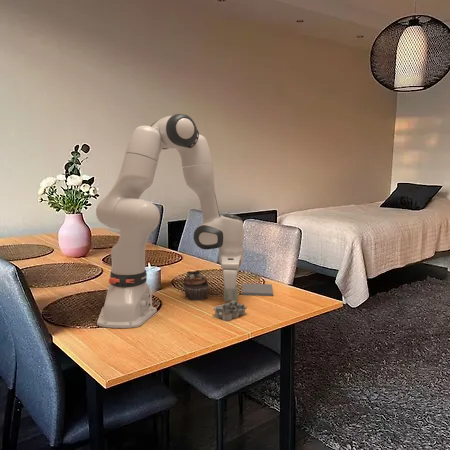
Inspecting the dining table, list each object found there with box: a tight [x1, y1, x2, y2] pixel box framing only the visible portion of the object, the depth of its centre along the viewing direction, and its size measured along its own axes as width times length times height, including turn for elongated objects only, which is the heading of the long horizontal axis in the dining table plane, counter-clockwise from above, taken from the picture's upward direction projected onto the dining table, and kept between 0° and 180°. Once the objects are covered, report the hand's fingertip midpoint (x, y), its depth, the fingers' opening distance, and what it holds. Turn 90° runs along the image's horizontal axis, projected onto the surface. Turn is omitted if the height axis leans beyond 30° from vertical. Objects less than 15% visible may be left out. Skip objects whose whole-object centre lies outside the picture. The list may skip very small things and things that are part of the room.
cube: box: [223, 284, 239, 302], centre depth 170 cm, size 5×5×5 cm
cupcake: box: [182, 269, 210, 302], centre depth 172 cm, size 10×10×10 cm
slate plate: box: [241, 283, 274, 297], centre depth 181 cm, size 12×12×1 cm
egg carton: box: [212, 300, 248, 322], centre depth 154 cm, size 11×8×4 cm
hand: (230, 294), depth 171 cm, fingers open, 8 cm apart
